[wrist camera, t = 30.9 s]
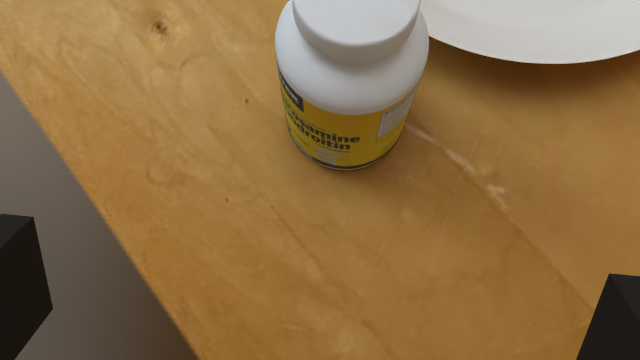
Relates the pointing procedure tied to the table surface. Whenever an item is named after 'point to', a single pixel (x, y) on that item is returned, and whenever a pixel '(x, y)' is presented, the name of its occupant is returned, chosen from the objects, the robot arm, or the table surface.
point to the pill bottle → (349, 75)
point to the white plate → (537, 28)
